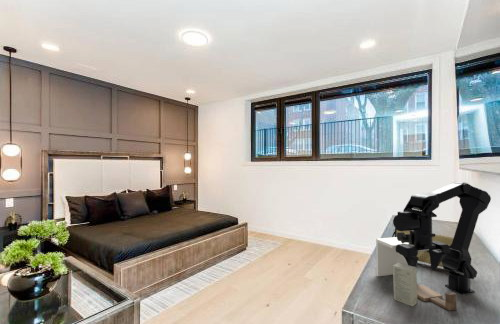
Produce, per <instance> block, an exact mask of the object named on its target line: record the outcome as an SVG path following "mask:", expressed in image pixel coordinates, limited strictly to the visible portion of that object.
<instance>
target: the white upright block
mask: <svg viewBox="0 0 500 324" xmlns="http://www.w3.org/2000/svg"><path fill="white" fill-rule="evenodd" d="M375 244H376V247H375V248H376V250H375V251H376V255H375V256H376V276H377V277H382V276H383V277H385V276H393V265H394V264H396V263H397V262H398V263H402V264H406V265H408V264H407V261H406V259H405V258H404V256H403V255H401V254H399V253H398V252H396V245H398V244H407V245H410V246H414V245H411V244H409V243H408V242H407V243H401V241H398V240H397V237H395V236H394V237H392V236H391V237H380V238H375Z"/></svg>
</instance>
